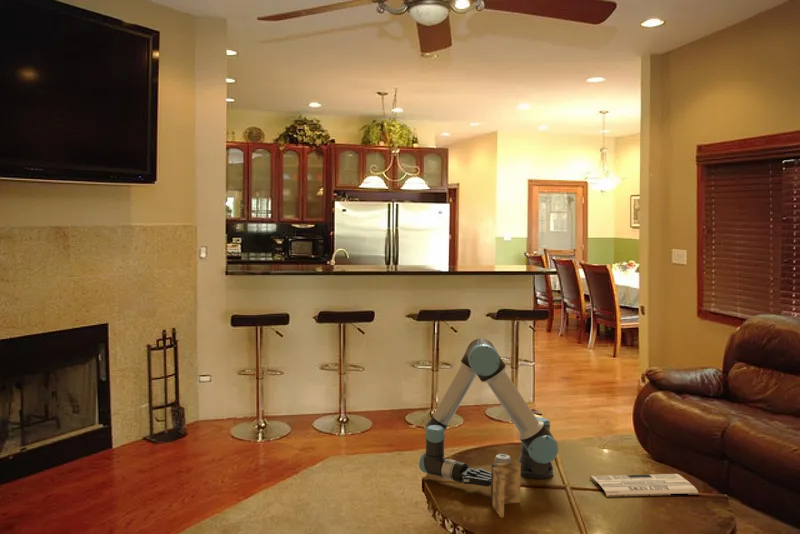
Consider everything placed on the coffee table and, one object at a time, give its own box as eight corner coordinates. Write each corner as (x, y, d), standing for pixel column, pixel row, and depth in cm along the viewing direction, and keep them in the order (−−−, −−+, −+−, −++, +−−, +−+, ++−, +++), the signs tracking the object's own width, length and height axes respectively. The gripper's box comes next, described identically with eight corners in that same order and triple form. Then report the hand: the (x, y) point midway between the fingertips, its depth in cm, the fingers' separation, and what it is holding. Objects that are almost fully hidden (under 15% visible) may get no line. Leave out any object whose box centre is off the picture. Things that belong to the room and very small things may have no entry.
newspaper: (675, 478, 271) (675, 471, 271) (700, 498, 252) (700, 491, 251) (589, 480, 268) (589, 473, 268) (607, 500, 249) (608, 493, 249)
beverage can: (511, 483, 263) (512, 454, 262) (508, 489, 257) (509, 459, 256) (495, 481, 265) (496, 452, 264) (492, 487, 259) (493, 457, 258)
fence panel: (491, 505, 240) (492, 465, 239) (490, 503, 242) (490, 463, 241) (520, 502, 242) (521, 463, 241) (518, 501, 244) (519, 461, 243)
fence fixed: (491, 507, 239) (492, 467, 238) (496, 506, 240) (496, 467, 239) (500, 518, 230) (501, 477, 229) (504, 518, 231) (505, 477, 230)
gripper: (463, 474, 263) (517, 489, 249) (447, 485, 252) (502, 501, 239) (463, 456, 262) (518, 470, 249) (447, 466, 251) (503, 481, 238)
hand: (510, 485), depth 244 cm, fingers closed
